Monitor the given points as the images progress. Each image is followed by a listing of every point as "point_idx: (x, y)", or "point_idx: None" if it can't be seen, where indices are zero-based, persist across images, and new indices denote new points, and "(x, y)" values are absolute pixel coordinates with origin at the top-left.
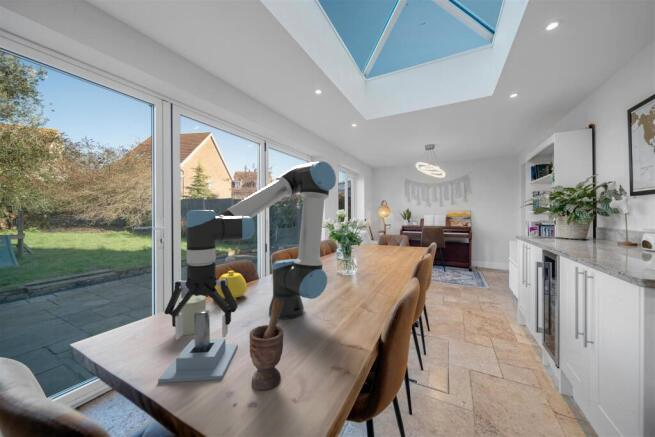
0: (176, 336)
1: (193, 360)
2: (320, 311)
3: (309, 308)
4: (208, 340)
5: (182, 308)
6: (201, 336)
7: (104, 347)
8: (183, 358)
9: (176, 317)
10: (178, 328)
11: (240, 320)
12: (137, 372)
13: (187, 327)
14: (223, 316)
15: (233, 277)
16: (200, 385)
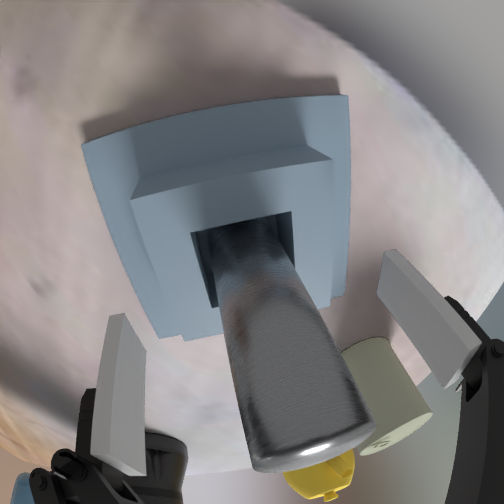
0: (400, 259)
1: (240, 169)
2: (71, 445)
3: None
4: (217, 291)
5: (414, 400)
6: (250, 288)
7: (497, 251)
8: (295, 163)
9: (474, 342)
10: (419, 294)
11: None
12: (426, 156)
13: (374, 358)
14: (98, 444)
15: (319, 492)
16: (153, 89)
